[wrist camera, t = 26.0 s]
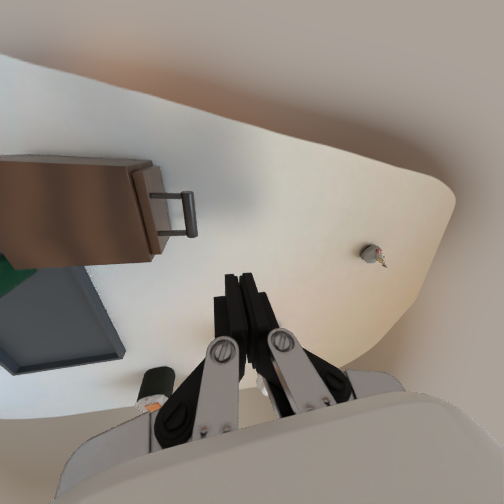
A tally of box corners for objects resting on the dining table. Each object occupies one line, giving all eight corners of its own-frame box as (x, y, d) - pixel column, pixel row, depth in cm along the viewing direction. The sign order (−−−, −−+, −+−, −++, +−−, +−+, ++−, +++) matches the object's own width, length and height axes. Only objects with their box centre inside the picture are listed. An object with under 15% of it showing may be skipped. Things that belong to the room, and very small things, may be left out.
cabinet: (151, 160, 26) (125, 166, 18) (166, 233, 32) (151, 262, 24) (29, 154, 23) (-69, 157, 15) (69, 235, 29) (14, 269, 21)
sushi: (170, 364, 51) (164, 397, 44) (177, 378, 55) (172, 410, 48) (140, 370, 49) (129, 405, 43) (149, 384, 54) (140, 418, 47)
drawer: (195, 167, 27) (190, 174, 20) (201, 231, 32) (198, 252, 25) (47, 160, 23) (-17, 165, 16) (81, 234, 28) (42, 260, 22)
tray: (-110, 244, 25) (-133, 251, 23) (70, 238, 29) (61, 244, 27) (21, 366, 40) (12, 375, 38) (126, 351, 44) (122, 359, 43)
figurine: (355, 257, 45) (373, 272, 39) (363, 242, 42) (384, 255, 37) (371, 258, 46) (391, 272, 41) (380, 243, 44) (402, 256, 39)
